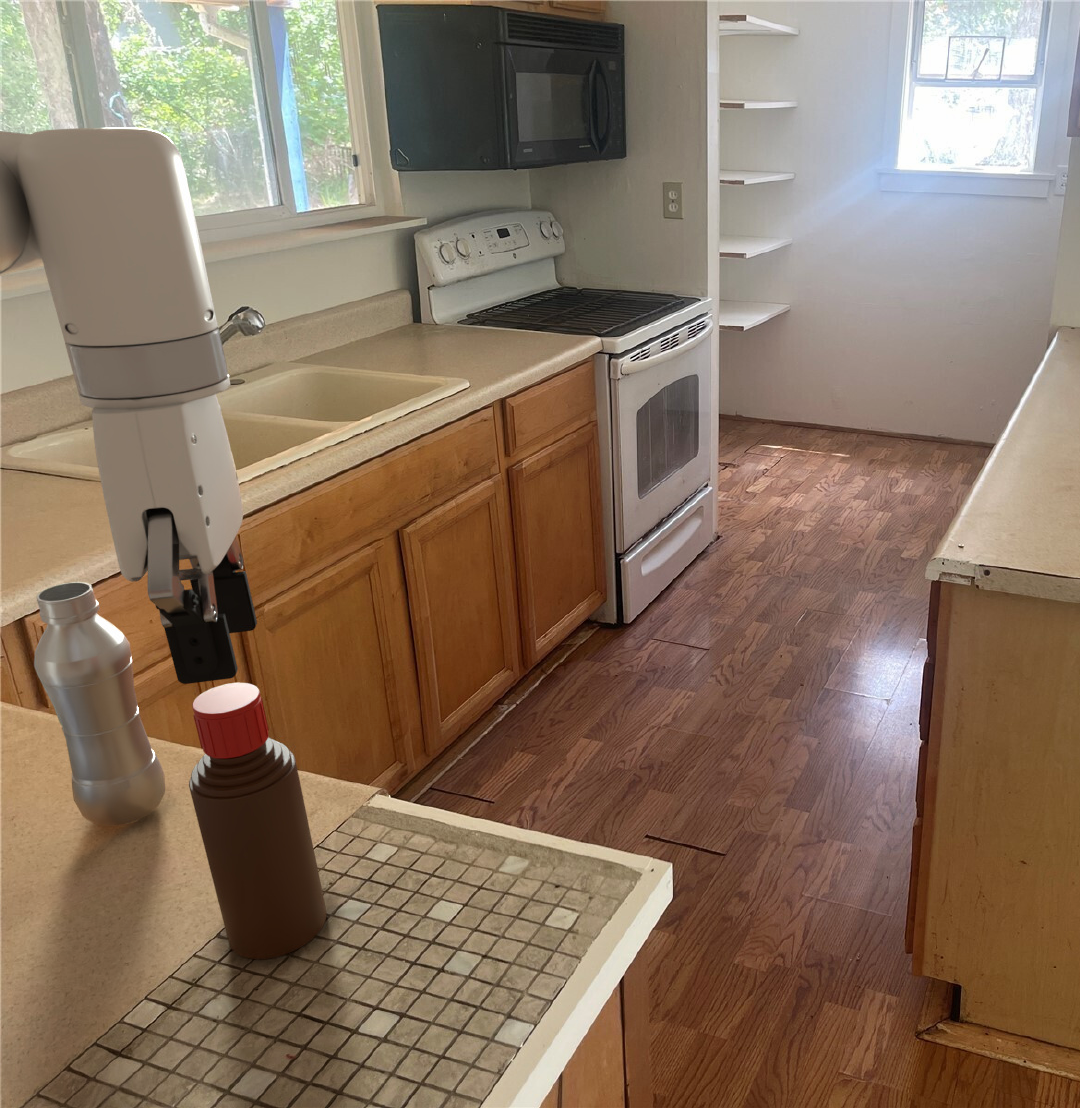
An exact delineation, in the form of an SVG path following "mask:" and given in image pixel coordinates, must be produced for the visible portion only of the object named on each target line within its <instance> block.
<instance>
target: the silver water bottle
mask: <svg viewBox="0 0 1080 1108" xmlns="http://www.w3.org/2000/svg"><path fill="white" fill-rule="evenodd" d="M36 602H37V606H38V609H39V617H40V620H41V622H42V623H44V624H46V627H45V629H44V631H43V633H42V635H41V637H40V639H39V641H38V643H37V646H36V648H35V651H34V659H33V660H34V661H33V667H34V669H35V672H36V675H37V678H38V679H39V681H40V683H41V684H42V687H43V690H44V691H45V693H46V695H47V697H48V699H49V700H50V703H51V705H52V706H53V708H54V711H55V714H56V717H57V719H58V722H59V725H60V726H61V730H62V733H63V735H64V738H65V742H66V748H67V754H68V759H69V763H70V769H71V790H72V798H73V801H74V803H75V805H76V807H77V808H78V810H79V812H80V814H81V816H82V818H84V819H86V820H87V821H89V822H90V823H92V824H94V825H96V826H100V827H118V826H123V825H128V824H131V823H134V822H136V821H139V820H141V819H143V818H145V817H147V816H148V815H150V814H152V813H153V812H154V811H155V810H156V809H157V808H158V807H159V805H160V804H161V802H162V800H163V798H164V796H165V793H166V775H165V771H164V768H163V766H162V764H161V761H160V759H159V758H158V756H157V754H156V753H155V751H154V750H153V748H152V745H151V742H150V740H149V737H148V735H147V732H146V729H145V726H144V723H143V721H142V719H141V714H140V710H139V707H138V700H137V694H136V689H135V681H134V668H133V659H132V657H133V655H132V649H131V643H130V641H129V640H128V638H127V637H126V636H125V634H124V633H123V632H122V631H121V630H120V629H119V628H118V627H116V626H115V625H114V624H113V623H112V622H110V621H109V620H107V619H105V618H104V617H102V616H101V615H99V614H98V612H99V611H100V603H99V601H98V600H97V598H96V596H95V591H94V588H93V586H92V584H90V583H88V582H84V581H71V582H64V583H59V584H56V585H52V586H49V587H47V588H45V589H43V590H41V591H40V592H39V593H38V594H37V595H36Z"/></svg>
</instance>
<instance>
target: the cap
mask: <svg viewBox="0 0 1080 1108" xmlns="http://www.w3.org/2000/svg"><path fill="white" fill-rule="evenodd" d="M191 706H192V711H193V714H192V715H193V720H194V724H195V728H196V733H197V736H198V741H199V745H200V749H201V750H202V751H203V753H204V755H205V754H206V755H208V756H210V757H213V758H220V759H225V758H234V757H238V756H242V755H245V754H248V753H250V752H252V751H254V750H256V749H258V748H259V747H261V746H262V745H263V744H264V743H265V742H266V740H267V739H268V737H269V730H270V729H269V724H268V719H267V716H266V711H265V705H264V701H263V697H261V692H260V689H259V688H258V686H257V685H254V684H252V683H248V682H232V683H225V684H222V685H217V686H215V687H212V688H209V689H207V690H205V691H203V692H202V693H201V694H199V695H197V696H196V697H195V699H194V700H193V701H192V705H191Z"/></svg>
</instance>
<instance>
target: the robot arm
mask: <svg viewBox="0 0 1080 1108" xmlns="http://www.w3.org/2000/svg"><path fill="white" fill-rule="evenodd" d="M191 196H192V195H191V192H190V186H189V181H188V178H187V172H186V169H185V165H184V162H183V158H182V155H181V153H180V150H179V148H178V147H177V146H176V144H175V142H173V141H172V140H171V139H170V137H168V136H167V135H165V134H163V133H162V132H159V131H157V130H153V129H149V128H141V127H85V128H84V127H80V128H76V127H75V128H56V129H45V130H40V131H35V132H32V133H22V132H21V133H20V132H12V131H5V130H0V277H2V276H5V275H8V274H12V273H16V272H20V271H25V270H29V269H35V268H40V267H43V269H44V272H45V275H46V279H47V282H48V286H49V290H50V293H51V297H52V300H53V304H54V308H55V312H56V315H57V318H58V323H59V327H60V330H61V334H62V338H63V340H64V346H65V349H66V353H67V355H68V360H69V364H70V367H71V372H72V374H73V378H74V379H73V380H74V383H75V386H76V389H77V392H78V398H79V401H80V403H81V405H83V406H84V407H87V408H92V410H91V419H92V431H93V441H94V449H95V455H96V462H97V468H98V474H99V478H100V485H101V489H102V494H103V499H104V504H105V509H106V514H107V519H108V523H109V528H110V532H111V537H112V541H113V544H114V545H113V546H114V550H115V555H116V558H117V563H118V567H119V571H120V573H121V576H122V577H123V578H124V579H126V580H127V581H129V582H131V583H132V582H139V581H140V580H141V579H142V578H143V577H144V576H145V575H146V573H147V597H148V599H149V600H150V602H152V603H153V604H154V605H155V608H156V610H158V611H159V612H158V613H159V619H160V623H161V625H162V627H163V628H164V632H165V636H166V641H167V644H168V647H169V651H170V655H171V659H172V663H173V667H174V670H175V674H176V675H175V676H176V678H177V681H178V682H179V683H180V684H182V685H189V684H196V683H204V682H206V683H207V682H213V681H214V682H215V681H222V680H229V679H232V678H235V676H237V675H236V674H237V672H238V670H239V668H238V664H237V660H236V656H235V650H234V646H233V643H232V639H231V638H232V637H231V634H236V633H244V632H252V631H254V630H255V629H256V627H257V625H258V620H257V616H256V612H255V611H256V610H255V606H254V601H253V598H252V592H251V588H250V583H249V579H248V574H247V571H246V570H244V557H243V553H242V551H241V548H240V545H239V541H238V539H237V535H238V533H239V531H240V528H241V527H242V523H243V520H244V519H243V518H244V507H243V499H242V494H241V488H240V481H239V478H238V473H237V468H236V464H235V461H234V455H233V452H232V448H231V444H230V440H229V436H228V431H227V428H226V424H225V420H224V417H223V413H222V407H221V405H220V403H219V400H218V396H217V394H218V393H223V392H224V391H227V390H228V389H229V388H230V387H231V381H230V375H229V370H228V365H227V360H226V355H225V351H224V347H223V342H222V337H221V332H220V328H219V324H218V320H217V316H216V311H215V310H216V309H215V306H214V305H215V304H214V301H213V297H212V291H211V287H210V282H209V278H208V277H209V276H208V273H207V272H208V271H207V267H206V263H205V258H204V252H203V248H202V243H201V239H200V234H199V230H198V224H197V220H196V215H195V210H194V206H193V201H192V197H191ZM181 560H182V561H183V560H189V562H190V565H191V568H183V569H180V561H181ZM243 570H244V571H243ZM182 581H189V582H190V586H191V588H189V589H185V585H184V584H183V583H182Z"/></svg>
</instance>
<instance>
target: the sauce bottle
mask: <svg viewBox="0 0 1080 1108" xmlns="http://www.w3.org/2000/svg"><path fill="white" fill-rule="evenodd" d="M298 770H299V769H298V766H297V760H296V757H295V754H293V752H292V751H291V750H290V749H289V748H288V747H287V745H286V744H284V743H282V742H279V741H277V740H275V739H273V738H271V737H269V736H268V739H267V740H266V742H265V743H264V744H263V745H262V746H261V747H259V748H258V749H256V750H254V751H252V752H250V753H248V754H245V755H242V756H238V757H234V758H225V759H220V758H213V757H210V756H208V755H206V754H205V753H204V755H202V756H201V758H200V759H199V760H198V762H197V763H196V765H195V766H194V767H193V768H192V771H191V774H190V777H189V781H188V788H189V793H190V796H191V799H192V804H193V807H194V811H195V815H196V819H197V823H198V828H199V831H200V835H201V838H202V842H203V847H204V850H205V855H206V859H207V862H208V866H209V870H210V874H211V878H212V882H213V886H214V889H215V893H216V898H217V903H218V905H219V910H220V913H221V918H222V921H223V925H224V929H225V932H226V937H227V941H228V944H229V947H230V949H231V950H232V952H234V953H235V954H236V955H238V956H240V957H242V958H245V959H250V960H270V959H274V958H278V957H281V956H286V955H287V954H290V953H294V952H295V951H297V950H299V949H301V948H302V947H303V946H305V945H307V944H308V943H309V942H311V941H312V940H313V939H314V938H315V937H316V936H317V935H318V934H319V933H320V932H321V930H322V929H323V927H324V925H325V924H326V920H327V914H328V913H327V906H326V903H325V902H326V901H325V898H324V893H323V888H322V883H321V878H320V873H319V868H318V864H317V858H316V854H315V849H314V844H313V843H314V842H313V838H312V833H311V830H310V824H309V820H308V814H307V810H306V804H305V800H304V795H303V790H302V786H301V781H300V775H299V771H298Z"/></svg>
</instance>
